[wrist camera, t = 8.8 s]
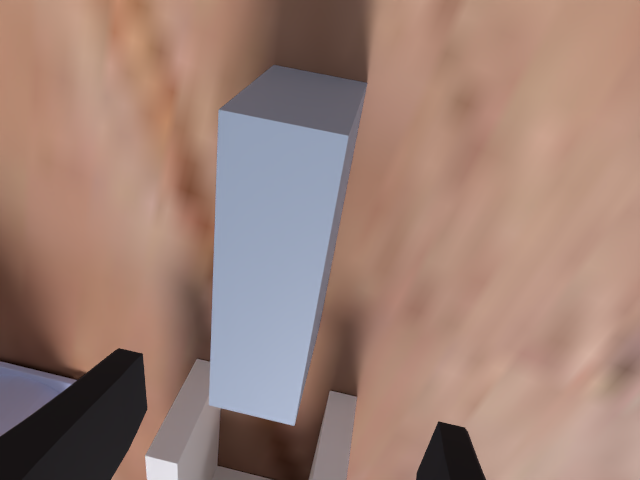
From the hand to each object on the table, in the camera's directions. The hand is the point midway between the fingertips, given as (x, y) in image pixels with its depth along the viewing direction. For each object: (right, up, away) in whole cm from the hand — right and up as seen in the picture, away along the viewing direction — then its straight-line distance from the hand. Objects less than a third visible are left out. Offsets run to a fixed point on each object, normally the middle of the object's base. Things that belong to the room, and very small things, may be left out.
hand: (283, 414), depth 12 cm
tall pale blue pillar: (0, +5, +9) cm, 11 cm away
